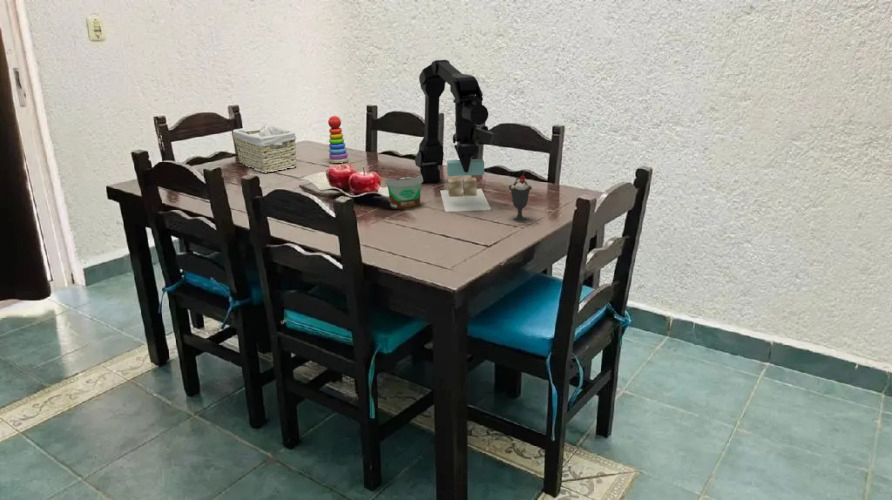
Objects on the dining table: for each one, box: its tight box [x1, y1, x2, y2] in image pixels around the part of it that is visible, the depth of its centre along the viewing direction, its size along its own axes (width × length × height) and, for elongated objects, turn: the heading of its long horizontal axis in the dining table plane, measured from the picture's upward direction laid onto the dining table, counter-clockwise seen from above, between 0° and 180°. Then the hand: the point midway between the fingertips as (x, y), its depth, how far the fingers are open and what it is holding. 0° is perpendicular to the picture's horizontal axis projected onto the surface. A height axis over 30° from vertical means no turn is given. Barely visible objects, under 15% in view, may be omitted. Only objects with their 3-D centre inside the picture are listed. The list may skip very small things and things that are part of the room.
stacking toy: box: [327, 115, 350, 164], centre depth 262 cm, size 8×8×19 cm
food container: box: [384, 172, 423, 210], centre depth 202 cm, size 12×6×10 cm, turn 117°
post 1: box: [447, 177, 462, 197], centre depth 215 cm, size 4×4×5 cm
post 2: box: [462, 177, 478, 196], centre depth 215 cm, size 4×4×5 cm
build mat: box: [440, 188, 492, 213], centre depth 210 cm, size 14×24×1 cm, turn 4°
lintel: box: [446, 158, 485, 177], centre depth 201 cm, size 11×4×4 cm, turn 94°
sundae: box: [508, 171, 533, 224], centre depth 187 cm, size 7×7×15 cm
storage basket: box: [232, 124, 297, 171], centre depth 258 cm, size 24×16×15 cm
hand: (465, 170), depth 201 cm, fingers closed on lintel, 4 cm apart
